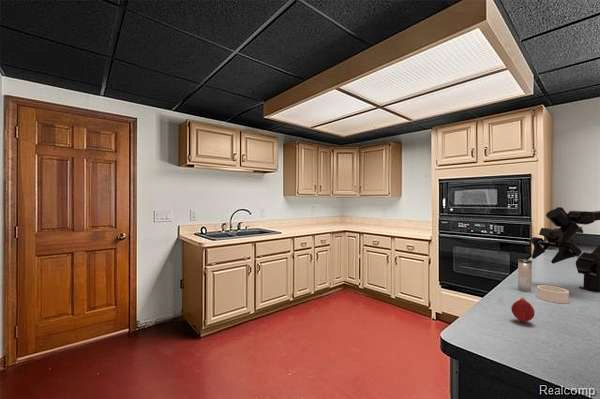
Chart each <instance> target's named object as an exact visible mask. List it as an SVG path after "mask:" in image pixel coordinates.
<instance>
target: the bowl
mask: <svg viewBox="0 0 600 399" xmlns="http://www.w3.org/2000/svg"><path fill="white" fill-rule="evenodd" d="M536 297H537V298H538V299H540V300H542V301H546V302H549V303H550V302H551V303H556V304H569V303H570V301H569V299H570V291H569V290H567V289H565V288H562V287H558V286H553V285H543V284H539V285H537V287H536Z"/></svg>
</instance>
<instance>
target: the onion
mask: <svg viewBox="0 0 600 399" xmlns="http://www.w3.org/2000/svg"><path fill="white" fill-rule="evenodd" d="M510 310H511V313H512V314H513V316H514V317H515V319H517V320H518V321H519V322H520V323H523V324H524V323H526V322H529V321H531V320H533V319H534V316H535V309H534V306H532V304H531V303H529V301H527V300H526V299H525V297H523V296H522V297H520V299H519V300H517V301H515V302H514V303H513V304H512V305H511V309H510Z"/></svg>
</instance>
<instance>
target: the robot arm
mask: <svg viewBox="0 0 600 399" xmlns="http://www.w3.org/2000/svg"><path fill="white" fill-rule="evenodd" d="M545 216H546V218H547V219H548V220H549V221H550V222H551V223H552V224H553V225H554V226H555V227H556V228H555V227H554V228H549V227H548V228H546V227H541V228H540V230H539V233H538V235H539V236H543V238H542V237H538V236H533V237H532V238H531V239H530V240H529V242H530V243H531V244H532V245H533V251H532V255H531V259H533V260H535V259H537V258H538V257H539V256H541V255H542V254H544V253H545V252H546V250H548V248H553V249H557V250H558V252H557V253H555V255H554V256H553V258H552V260H551V263H552V264H556V263H560V262H562V261H564V260H568V259H571V258H575V257H577V258H576V261H575V266H576V269H577V273H578V274H582V275H583V284H582V285H581V286H579V287H578V288H580V289H584V290H587V291H591V292H595V293H600V244H599V245H598V246H597V247H596V248H595V249H594V250H593V251H592V252H585V251H584V252H582V249H580V247H578V245H577V244H576V243H575V242H574V240H573V238H574V237H575V236H576V234H584V230H583V227H582V226H579V225H591V224H593V223H595V222H596V221H600V210H596V211H595V210H593V211H588V210H587V211H586V210H584V211H582V210H569V211H568V213H567V212H566V210H565V209H564V208H563V207H561V206H560V207H559V206H557V207H556V208H554V209H552V210H549V211H548V212H546V214H545ZM558 227H559V228H558ZM544 237H545V239H544ZM545 240H546V241H545Z"/></svg>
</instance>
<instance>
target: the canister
mask: <svg viewBox="0 0 600 399" xmlns="http://www.w3.org/2000/svg"><path fill="white" fill-rule="evenodd" d="M517 262H518V264H517V265H518V266H517V290H518V291H519V292H520V291H521V292H525V293H531V292H532V272H533V271H532V270H533V269H532V268H533V265H532V263H533V260H530V259H525V258H523V259H522V258H518V259H517Z"/></svg>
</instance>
